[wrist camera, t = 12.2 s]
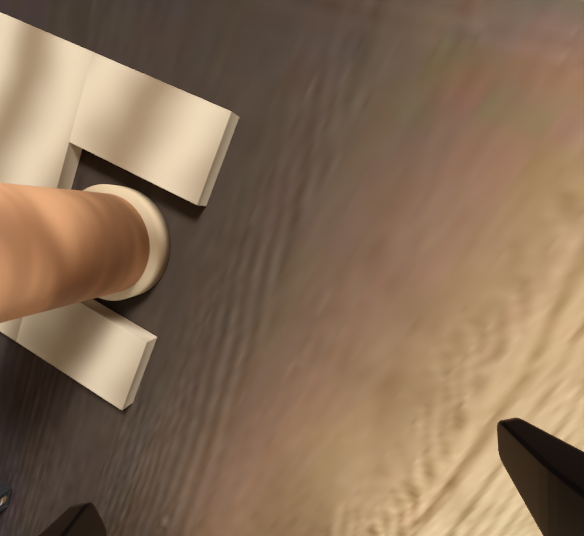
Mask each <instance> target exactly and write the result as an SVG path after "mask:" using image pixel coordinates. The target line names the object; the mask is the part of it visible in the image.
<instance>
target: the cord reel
mask: <svg viewBox="0 0 584 536" xmlns="http://www.w3.org/2000/svg"><path fill="white" fill-rule="evenodd" d="M169 255H170V237H169V232H168V228H167V225H166V222H165V220H164V217H163V215H162V214H161V212H160V210H159V209H158V208H157V206H156V205H155V204H154V203H153V202H152V200H151V199H149V198H148V197H147V196H146V195H144V194H143V193H141V192H140V191H137V190H135V189H133V188H129V187H124V186H116V185H108V184H100V185H95V186H91V187H89V188H86V189H85V190H83V191H79V190H69V189H59V188H49V187H39V186H29V185H19V184H9V183H0V323H3V322H7V321H10V320H14V319H18V318H22V317H26V316H29V315H33V314H37V313H41V312H45V311H48V310H52V309H56V308H60V307H64V306H67V305H71V304H75V303H79V302H82V301H86V300H90V299H94V298H101V299H104V300H110V301H117V300H123V299H127V298H130V297H134V296H137V295H140V294H143V293H145V292H147V291H148V290H150V289H151V288H153V287H154V286H155V285H156V284H157V283H158V281H159V280H160V279H161V277H162V276H163V274H164V272H165V270H166V267H167V264H168V261H169Z"/></svg>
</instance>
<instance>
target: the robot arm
mask: <svg viewBox="0 0 584 536" xmlns="http://www.w3.org/2000/svg"><path fill="white" fill-rule="evenodd" d="M497 434H498V451H499V455H500V458H501V461H502V463H503V465H504V467H505V468H506V470H507V472H508V474H509V475H510V477H511V479H512V481H513V483H514V484H515V486H516V488H517V490H518V492H519V493H520V495H521V497H522V499H523V500H524V502H525V504H526V506H527V508H528V509H529V511H530V513H531V515H532V517H533V518H534V520H535V522H536V524H537V525H538V527H539V529H540V531H541V532H542V534H543V536H584V452H583V451H581V450H579V449H577V448H575V447H574V446H572V445H570V444H568V443H566V442H564V441H562V440H560V439H558V438H556V437H555V436H553V435H551V434H549V433H547V432H545V431H543V430H541V429H539V428H537V427H535V426H534V425H532V424H530V423H528V422H526V421H524V420H522V419H519V418H511V419H506V420H501V421H499V422H498V424H497ZM39 536H106V527H105V525H104V523H103V521H102V519H101V517H100V515H99V513H98V511H97V509H96V507H95V506H94V504H92V503H91V502H87V503H82V504H77V505H73V506H71V507H70V508H68V509H67V510H66V511H65V512H64V513H63V514H62V515H61V516H60V517H59V518H58V519H56V520H55V521H54V522H53V523H52V524H51V525H50V526H49V527H48V528H47V529H46V530H45V531H43V532H42V533H41V534H40V535H39Z"/></svg>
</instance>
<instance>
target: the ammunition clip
mask: <svg viewBox="0 0 584 536" xmlns="http://www.w3.org/2000/svg"><path fill="white" fill-rule="evenodd" d="M11 491H12V487H10V486H9V485H7V484H6V483H4V482H3V481H1V480H0V512H1V511H2V510H4V509H5V508H7V507H8V505H9V500H10V495H11Z"/></svg>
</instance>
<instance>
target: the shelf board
mask: <svg viewBox="0 0 584 536" xmlns="http://www.w3.org/2000/svg"><path fill="white" fill-rule="evenodd" d="M238 120H239V117H238V116H237V115H236V114H234V113H233V112H231V111H229V110H227V109H224V108H222V107H220V106H217V105H215V104H213V103H210V102H208V101H206V100H203V99H201V98H199V97H196V96H194V95H192V94H189V93H187V92H185V91H182V90H180V89H178V88H175V87H173V86H171V85H168V84H166V83H164V82H161V81H159V80H157V79H154V78H152V77H150V76H147V75H145V74H143V73H140V72H138V71H136V70H133V69H131V68H129V67H126V66H124V65H122V64H119V63H117V62H115V61H112V60H110V59H108V58H105V57H103V56H101V55H99V54H96V53H94V52H92V51H89V50H87V49H85V48H82V47H80V46H78V45H75V44H73V43H71V42H68V41H66V40H64V39H61V38H59V37H57V36H54V35H52V34H50V33H47V32H45V31H43V30H40V29H38V28H36V27H33V26H31V25H29V24H26V23H24V22H22V21H19V20H17V19H15V18H12V17H10V16H8V15H5V14H3V13H1V12H0V183H9V184H19V185H29V186H39V187H49V188H59V189H69V190H71V189H72V185H73V181H74V178H75V174H76V171H77V167H78V163H79V160H80V156H81V152H82V149H85V150H87V151H89V152H91V153H93V154H95V155H97V156H99V157H101V158H103V159H105V160H107V161H109V162H111V163H113V164H115V165H117V166H119V167H121V168H123V169H125V170H127V171H129V172H131V173H133V174H135V175H137V176H139V177H141V178H143V179H145V180H147V181H149V182H151V183H153V184H155V185H157V186H159V187H161V188H163V189H165V190H167V191H169V192H171V193H173V194H175V195H177V196H179V197H181V198H184V199H186V200H188V201H190V202H192V203H194V204H196V205H200V206H207V203H208V200H209V198H210V195H211V192H212V190H213V187H214V184H215V182H216V179H217V176H218V173H219V171H220V168H221V165H222V163H223V160H224V157H225V155H226V152H227V149H228V147H229V144H230V141H231V139H232V136H233V133H234V131H235V128H236V125H237V123H238ZM0 331H1V332H2V333H4V334H5V335H7V336H8V337H10V338H11V339H13V340H14V341H16V342H17V343H19V344H20V345H22V346H24V347H25V348H27V349H28V350H30V351H31V352H33V353H34V354H36V355H37V356H39V357H40V358H42V359H44V360H45V361H47V362H48V363H50V364H51V365H53V366H54V367H56V368H57V369H59V370H60V371H62V372H63V373H65V374H67V375H68V376H70V377H71V378H73V379H74V380H76V381H77V382H79V383H80V384H82V385H83V386H85V387H87V388H88V389H90V390H91V391H93V392H94V393H96V394H97V395H99V396H100V397H102V398H103V399H105V400H106V401H108V402H110V403H111V404H113V405H114V406H116V407H117V408H119V409H120V410H123V409H125V408H126V407H128V406H129V405H130V404H132V403H133V401H134V398H135V396H136V393H137V390H138V388H139V385H140V382H141V380H142V377H143V374H144V372H145V369H146V366H147V364H148V361H149V358H150V356H151V353H152V350H153V348H154V345H155V342H156V340H157V337H156V336H155V335H153V334H151V333H150V332H148V331H146V330H145V329H143V328H141V327H139V326H138V325H136V324H134V323H133V322H131V321H129V320H128V319H126V318H124V317H122V316H121V315H119V314H117V313H116V312H114V311H112V310H111V309H109V308H107V307H106V306H104V305H102V304H100V303H99V302H97V301H95V300H94V299H90V300H86V301H82V302H79V303H75V304H71V305H67V306H64V307H60V308H56V309H52V310H48V311H45V312H41V313H37V314H33V315H29V316H26V317H22V318H18V319H14V320H10V321H7V322H3V323H0Z"/></svg>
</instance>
